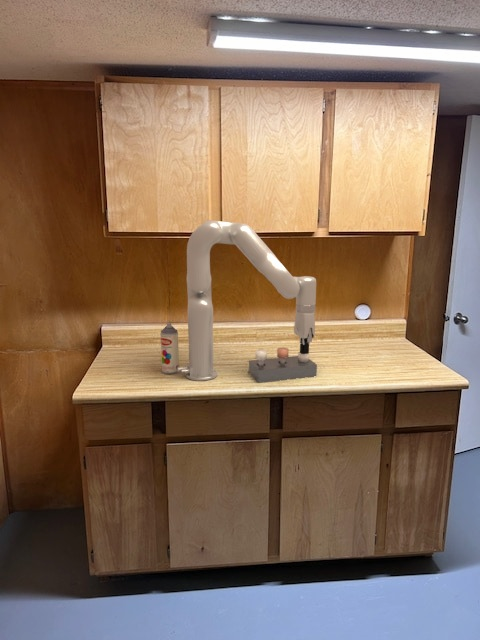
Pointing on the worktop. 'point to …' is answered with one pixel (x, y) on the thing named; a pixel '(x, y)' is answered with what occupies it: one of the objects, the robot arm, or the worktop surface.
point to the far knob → (303, 357)
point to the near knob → (261, 356)
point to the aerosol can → (169, 350)
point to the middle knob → (282, 354)
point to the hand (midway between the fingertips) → (304, 353)
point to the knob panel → (281, 369)
